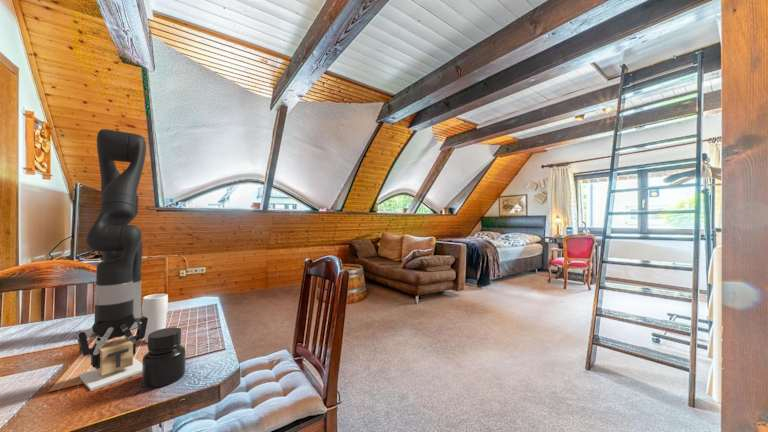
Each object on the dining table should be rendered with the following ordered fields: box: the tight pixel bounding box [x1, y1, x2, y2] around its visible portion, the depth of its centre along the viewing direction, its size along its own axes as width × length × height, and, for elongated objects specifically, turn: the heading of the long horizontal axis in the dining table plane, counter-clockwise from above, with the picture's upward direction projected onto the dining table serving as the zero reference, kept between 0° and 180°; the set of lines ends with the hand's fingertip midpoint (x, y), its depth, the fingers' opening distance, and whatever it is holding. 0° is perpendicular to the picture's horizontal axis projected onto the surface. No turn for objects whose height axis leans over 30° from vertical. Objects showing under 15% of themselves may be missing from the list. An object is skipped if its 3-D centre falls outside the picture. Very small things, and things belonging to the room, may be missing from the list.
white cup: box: [141, 293, 169, 344], centre depth 95 cm, size 7×7×15 cm
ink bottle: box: [141, 326, 186, 389], centre depth 73 cm, size 10×9×12 cm
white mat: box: [78, 356, 142, 392], centre depth 75 cm, size 11×11×1 cm
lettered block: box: [94, 337, 134, 375], centre depth 75 cm, size 6×7×6 cm
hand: (114, 361), depth 75 cm, fingers closed on lettered block, 6 cm apart
